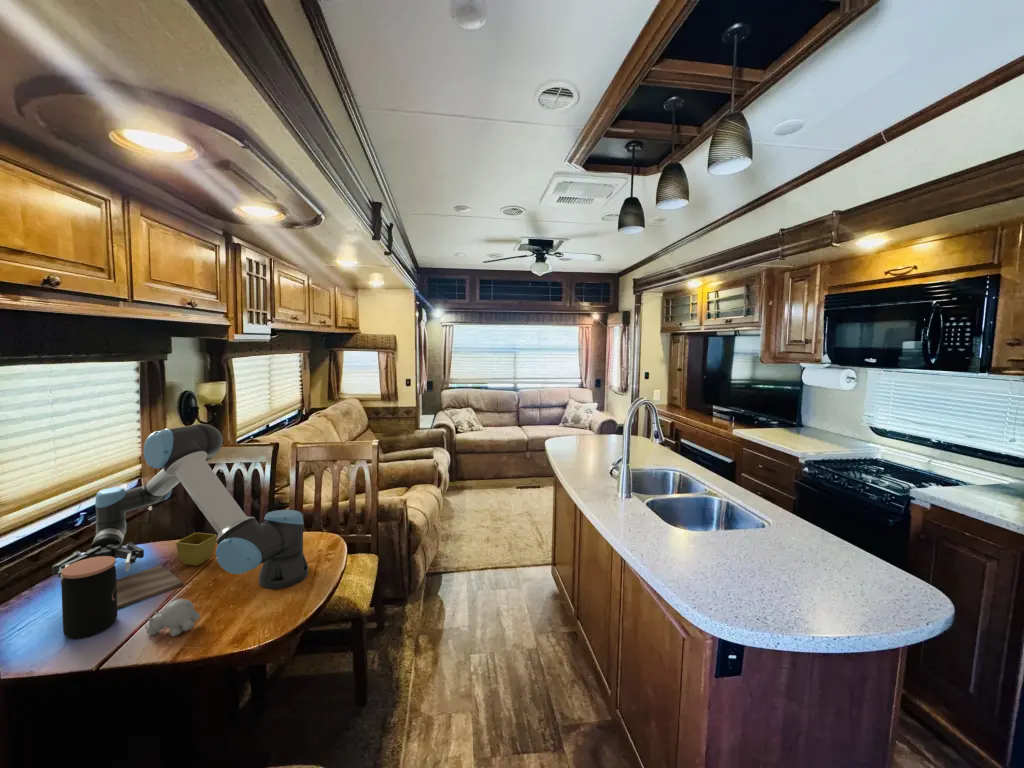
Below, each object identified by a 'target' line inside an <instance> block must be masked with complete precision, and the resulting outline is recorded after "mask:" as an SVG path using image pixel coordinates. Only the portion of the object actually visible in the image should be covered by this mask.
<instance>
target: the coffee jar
mask: <svg viewBox="0 0 1024 768" xmlns="http://www.w3.org/2000/svg"><path fill="white" fill-rule="evenodd" d="M116 561H117V558H116V559H115V558H114V557H111V556H98V557H92V558H88V559H84V560H80V561H77V562H75V563H72V564H70V565H68V566H66V567H65V568H63V570H62V571H61V575H62V577H63V579H62V580H61V579H60V586H61V587H60V589H61V609H62V611H61V612H62V632H63V633H62V634H63V635H64V636H66V637H67V638H68V639H71V640H72V639H74V640H79V639H84V638H89V637H92V636H95V635H98V634H100V633H102V632H104V631H106V630H107V629H109V628H110V627H111V626H113V625H114V623H115V622H116V620H117V618H118V609H117V581H116V579H117V567H116Z"/></svg>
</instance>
